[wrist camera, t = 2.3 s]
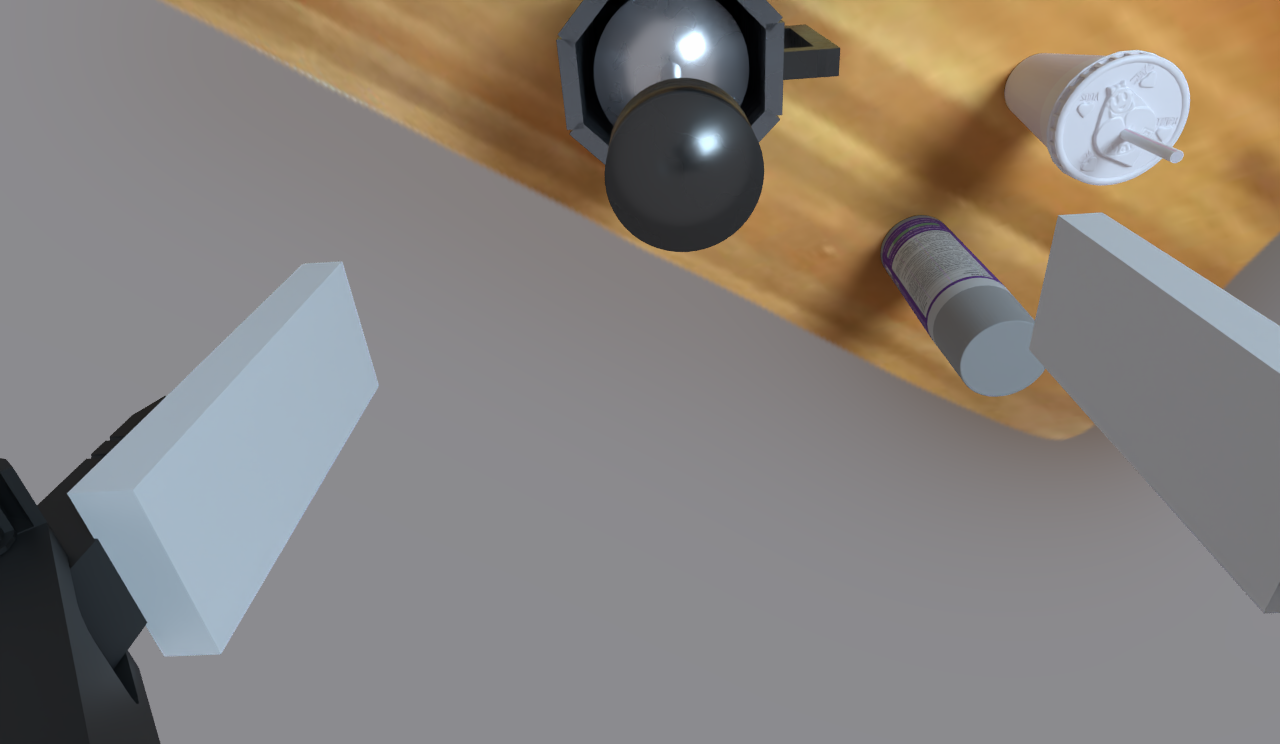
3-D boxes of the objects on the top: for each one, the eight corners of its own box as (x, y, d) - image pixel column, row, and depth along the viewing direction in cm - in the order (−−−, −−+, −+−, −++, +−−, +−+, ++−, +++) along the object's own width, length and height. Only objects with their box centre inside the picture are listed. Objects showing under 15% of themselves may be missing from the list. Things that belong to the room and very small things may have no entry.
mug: (572, -49, 42) (547, -39, 32) (802, -68, 41) (852, -64, 31) (591, 134, 47) (574, 193, 37) (796, 119, 46) (837, 176, 36)
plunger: (587, -8, 34) (536, 46, 19) (747, -21, 34) (822, 24, 19) (602, 152, 38) (570, 302, 23) (747, 142, 37) (809, 288, 22)
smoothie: (995, 157, 47) (1111, 237, 35) (969, 60, 45) (1086, 112, 33) (1100, 110, 46) (1260, 177, 34) (1081, 6, 43) (1247, 39, 31)
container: (952, 272, 51) (1052, 389, 39) (882, 286, 52) (958, 406, 39) (950, 207, 49) (1055, 309, 36) (877, 223, 50) (956, 329, 37)
